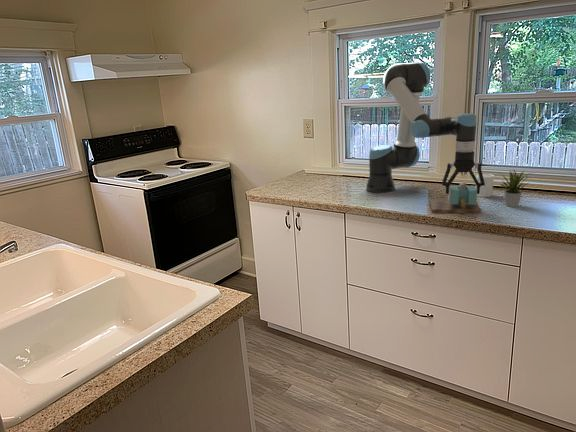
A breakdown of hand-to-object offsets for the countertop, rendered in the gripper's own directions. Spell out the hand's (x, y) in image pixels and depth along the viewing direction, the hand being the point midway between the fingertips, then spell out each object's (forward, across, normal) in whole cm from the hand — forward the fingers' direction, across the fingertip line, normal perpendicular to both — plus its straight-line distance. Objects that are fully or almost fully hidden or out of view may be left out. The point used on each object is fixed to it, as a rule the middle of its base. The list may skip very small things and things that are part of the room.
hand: (461, 200), depth 192 cm
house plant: (+4, +23, +6) cm, 24 cm away
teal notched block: (0, 0, 0) cm, 0 cm away
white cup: (+4, +13, +24) cm, 27 cm away
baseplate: (+4, -3, 0) cm, 5 cm away
